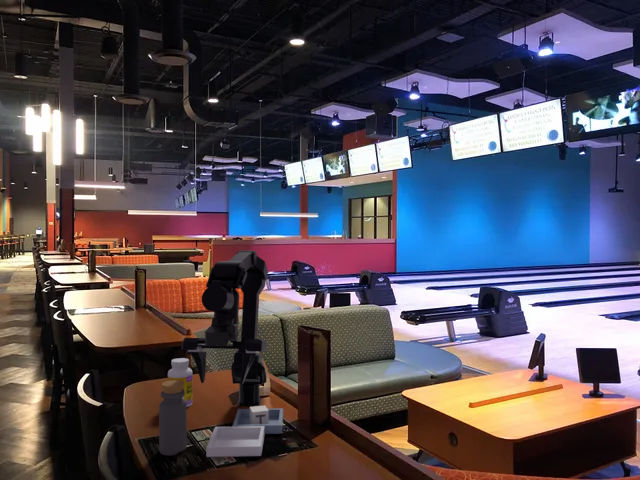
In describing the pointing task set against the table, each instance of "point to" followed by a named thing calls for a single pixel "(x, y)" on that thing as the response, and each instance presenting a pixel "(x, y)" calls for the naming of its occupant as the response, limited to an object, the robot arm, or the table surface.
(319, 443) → the table surface
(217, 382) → the table surface
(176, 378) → the supplement bottle
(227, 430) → the grey tray
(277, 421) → the blue tray
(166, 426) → the bottle
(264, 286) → the robot arm
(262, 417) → the white cube
